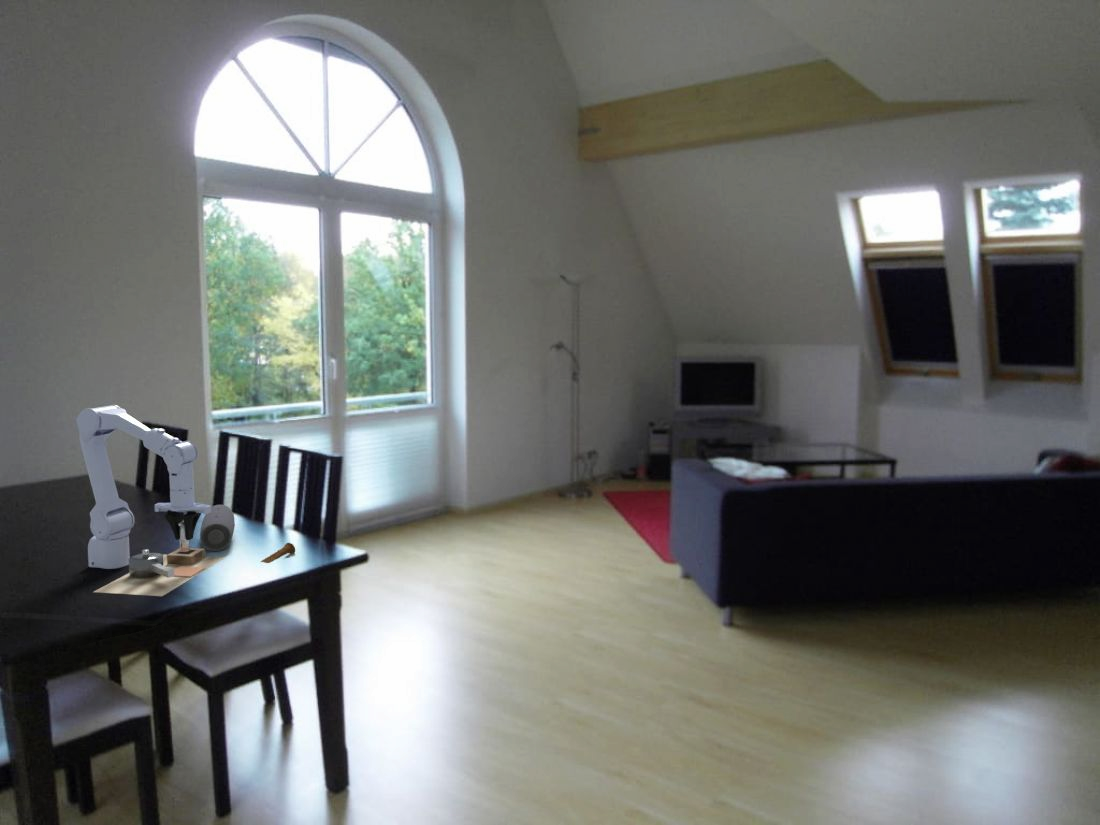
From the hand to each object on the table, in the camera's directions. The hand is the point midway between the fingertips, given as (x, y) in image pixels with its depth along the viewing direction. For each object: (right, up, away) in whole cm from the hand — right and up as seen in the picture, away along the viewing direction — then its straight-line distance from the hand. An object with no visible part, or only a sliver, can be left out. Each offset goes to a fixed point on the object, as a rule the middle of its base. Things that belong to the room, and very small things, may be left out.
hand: (184, 538), depth 208 cm
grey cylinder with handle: (-6, -9, -4) cm, 11 cm away
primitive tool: (+18, -10, +14) cm, 25 cm away
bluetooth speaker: (-3, -7, +30) cm, 30 cm away
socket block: (-4, -8, +11) cm, 14 cm away
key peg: (0, -3, +1) cm, 3 cm away
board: (-5, -10, 0) cm, 11 cm away
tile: (0, -9, +1) cm, 9 cm away
